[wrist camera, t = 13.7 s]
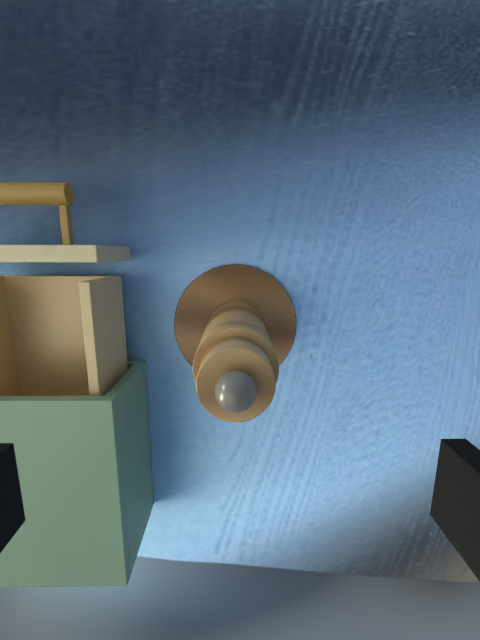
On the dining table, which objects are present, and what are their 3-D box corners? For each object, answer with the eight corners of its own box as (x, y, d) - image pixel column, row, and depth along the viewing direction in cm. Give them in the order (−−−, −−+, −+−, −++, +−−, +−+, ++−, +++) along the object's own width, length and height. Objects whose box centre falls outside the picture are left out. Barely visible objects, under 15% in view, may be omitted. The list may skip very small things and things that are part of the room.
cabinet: (8, 360, 33) (-78, 401, 24) (145, 359, 33) (111, 400, 24) (29, 504, 36) (-39, 588, 27) (154, 503, 37) (127, 586, 28)
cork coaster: (172, 264, 31) (171, 264, 31) (297, 264, 32) (298, 264, 31) (177, 382, 34) (176, 384, 33) (293, 381, 34) (294, 383, 33)
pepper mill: (207, 299, 32) (179, 348, 16) (263, 299, 32) (292, 347, 16) (208, 353, 33) (182, 449, 17) (262, 353, 33) (288, 449, 17)
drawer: (-17, 192, 29) (-102, 173, 22) (126, 193, 29) (90, 174, 22) (14, 404, 33) (-49, 447, 26) (139, 404, 33) (112, 446, 26)
